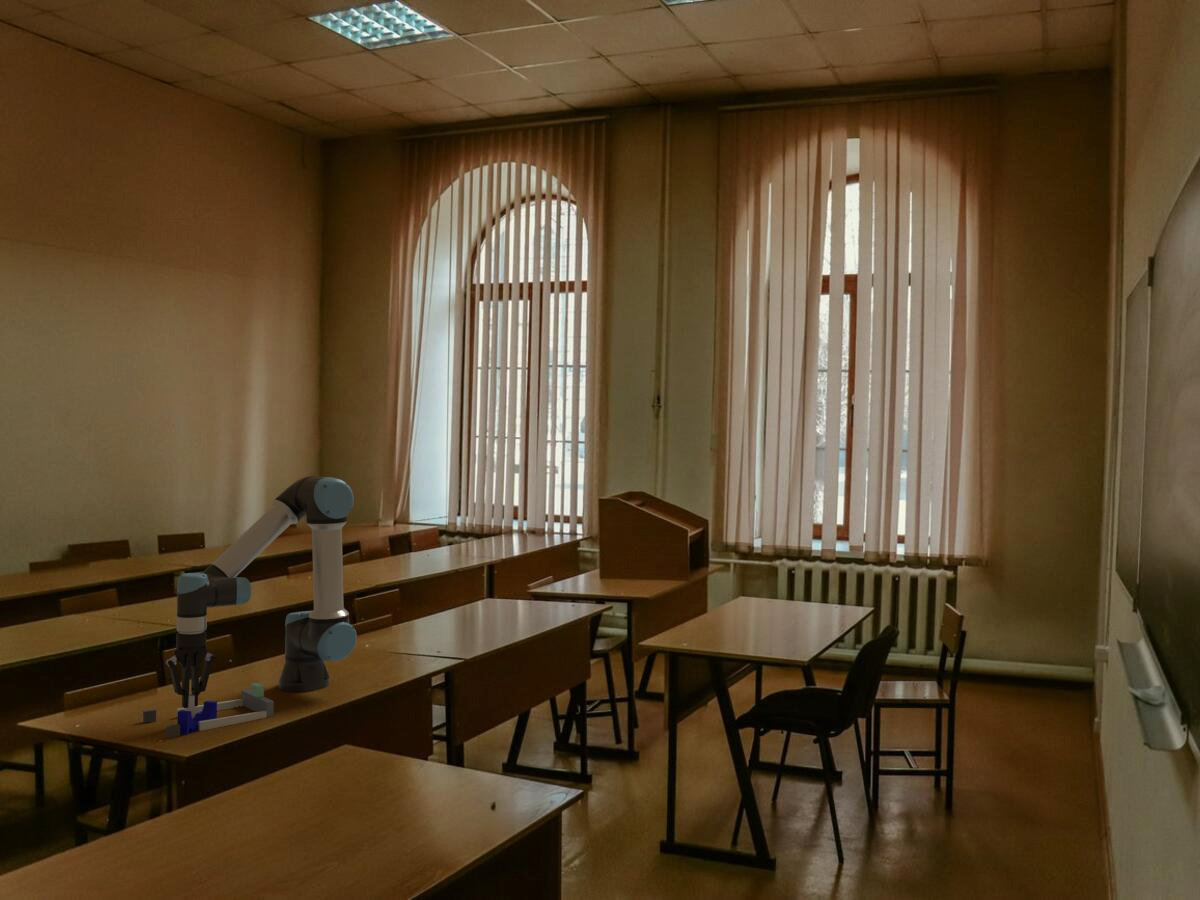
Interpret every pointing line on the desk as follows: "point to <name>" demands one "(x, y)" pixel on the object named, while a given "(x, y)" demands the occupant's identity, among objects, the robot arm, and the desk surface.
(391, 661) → the desk surface
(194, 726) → the blue u-shaped block
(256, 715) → the port dock
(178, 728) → the holster stops
